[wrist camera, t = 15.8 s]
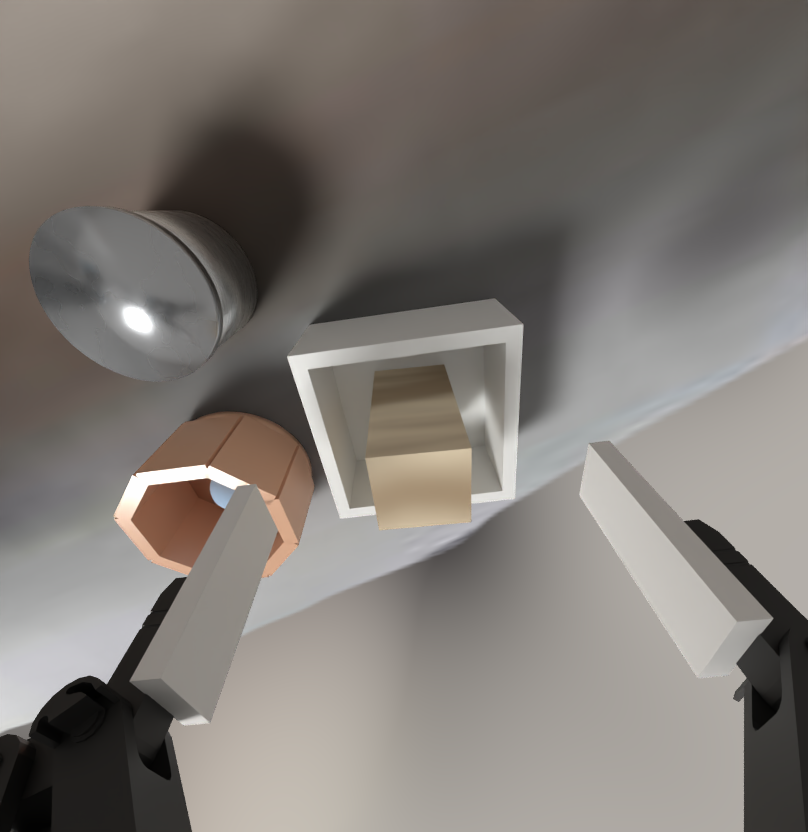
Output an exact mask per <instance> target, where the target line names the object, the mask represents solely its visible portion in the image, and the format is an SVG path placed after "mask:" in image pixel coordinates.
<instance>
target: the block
mask: <svg viewBox="0 0 808 832" xmlns="http://www.w3.org/2000/svg"><path fill="white" fill-rule="evenodd" d="M365 460H366V465H367V470H368V475H369V480H370V485H371V490H372V495H373V501H374V506H375V511H376V516H377V521H378V526H379V530H388V529H399V528H410V527H422V526H433V525H444V524H455V523H467V522H471V464H472V448H471V445H470V442H469V439H468V436H467V433H466V430H465V426H464V423H463V420H462V417H461V414H460V411H459V408H458V405H457V402H456V399H455V396H454V393H453V390H452V387H451V384H450V381H449V377H448V374H447V371H446V368H445V365H444V364H442V365H432V366H422V367H412V368H402V369H392V370H383V371H375V373H374V382H373V391H372V400H371V410H370V419H369V428H368V437H367V446H366V455H365Z"/></svg>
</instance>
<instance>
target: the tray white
mask: <svg viewBox="0 0 808 832" xmlns="http://www.w3.org/2000/svg"><path fill="white" fill-rule="evenodd" d="M522 344H523V323H522V322H521V321H519V320H518V319H517V318H516V317H515V316H514V315H513V314H512V313H511V312H509V311H508V310H507V309H506V308H505V307H504V306H503V305H502V304H501V303H499V302H498V301H497V300H496V299H495V298H494V299H487V300H480V301H473V302H466V303H459V304H452V305H445V306H438V307H431V308H424V309H417V310H410V311H403V312H396V313H388V314H381V315H374V316H367V317H360V318H353V319H346V320H339V321H332V322H325V323H318V324H311V325H309V326H308V328H307V329H306V330H305V332H304V333H303V335H302V336H301V337H300V339H299V340H298V342H297V343H296V345H295V346H294V347H293V349H292V350H291V352H290V353H289V354H288V356H287V358H288V361H289V364H290V367H291V370H292V373H293V376H294V379H295V383H296V386H297V389H298V392H299V395H300V398H301V401H302V404H303V407H304V410H305V413H306V416H307V419H308V422H309V425H310V428H311V431H312V434H313V437H314V440H315V443H316V446H317V449H318V452H319V455H320V458H321V461H322V464H323V468H324V471H325V474H326V477H327V480H328V483H329V486H330V489H331V492H332V495H333V498H334V501H335V504H336V507H337V510H338V513H339V516H340V519H342V518H351V517H360V516H368V515H376V511H375V506H374V501H373V495H372V490H371V485H370V480H369V475H368V470H367V465H366V460H365V455H366V446H367V437H368V428H369V419H370V410H371V400H372V391H373V382H374V373H375V371H383V370H392V369H402V368H412V367H422V366H432V365H442V364H444V365H445V368H446V371H447V374H448V377H449V381H450V384H451V387H452V390H453V393H454V396H455V399H456V402H457V405H458V408H459V411H460V414H461V417H462V420H463V423H464V426H465V430H466V433H467V436H468V439H469V442H470V445H471V448H472V464H471V504H473V503H482V502H490V501H499V500H508V499H515V485H516V465H517V444H518V424H519V404H520V384H521V364H522Z"/></svg>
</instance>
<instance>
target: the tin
mask: <svg viewBox="0 0 808 832" xmlns="http://www.w3.org/2000/svg"><path fill="white" fill-rule="evenodd" d="M29 266H30V275H31V279H32V284H33V287H34V290H35V292H36V295H37V297H38V299H39V301H40V304H41V306H42V307H43V309H44V311H45V312H46V314H47V316H48V317H49V319H50V320H51V321H52V323H53V324H54V325H55V327H56V328H57V329H58V330H59V331H60V332H61V334H62V335H63V336H64V337H65V338H66V339H67V340H68V341H69V342H70V343H71V344H72V345H73V346H75V347H76V348H77V349H78V350H80V351H81V352H82V353H83V354H84V355H86V356H87V357H89V358H90V359H92V360H93V361H95V362H97V363H98V364H100V365H102V366H104V367H105V368H107V369H110V370H112V371H114V372H116V373H119V374H122V375H124V376H127V377H131V378H135V379H139V380H145V381H158V382H160V381H171V380H176V379H179V378H182V377H185V376H187V375H189V374H191V373H193V372H195V371H196V370H197V369H198V368H200V367H201V366H202V365H203V364H205V363H206V362H207V361H208V360H209V359H210V358H211V357H212V355H213V354H214V352H215V351H216V349H217V348H218V347H219V346H220V345H222V344H223V343H224V342H225V341H227V340H228V339H229V338H230V337H232V336H233V335H234V334H235V333H236V332H238V331H239V330H240V329H241V328H243V327H244V326H245V325H246V324H247V323H248V321H249V320H250V318H251V317H252V315H253V313H254V310H255V307H256V303H257V283H256V278H255V274H254V271H253V268H252V266H251V263H250V261H249V259H248V257H247V255H246V254H245V252H244V251H243V249H242V248H241V246H240V245H239V244H238V243H237V242H236V240H235V239H234V238H233V237H232V236H231V235H230V234H229V233H228V232H227V231H225V230H224V229H223V228H222V227H220V226H219V225H217V224H216V223H214V222H213V221H211V220H209V219H207V218H205V217H203V216H201V215H198V214H195V213H192V212H187V211H179V210H156V211H128V210H124V209H120V208H115V207H104V206H85V207H74V208H70V209H66V210H63V211H61V212H59V213H57V214H54V215H53V216H51V217H50V218H49V219H47V220H46V221H45V222H44V223H43V224H42V225H41V227H40V228H39V229H38V231H37V232H36V234H35V236H34V238H33V241H32V244H31V248H30V256H29Z"/></svg>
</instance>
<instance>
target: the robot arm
mask: <svg viewBox="0 0 808 832" xmlns="http://www.w3.org/2000/svg"><path fill="white" fill-rule="evenodd" d="M579 496H580V497H581V499H582V500H583V502H584V503H585V505H586V506H587V508H588V510H589V511H590V513H591V514H592V516H593V517H594V519H595V520H596V522H597V523H598V525H599V527H600V528H601V530H602V531H603V533H604V534H605V536H606V537H607V539H608V541H609V542H610V544H611V545H612V547H613V548H614V550H615V551H616V553H617V554H618V556H619V557H620V559H621V561H622V562H623V564H624V565H625V567H626V568H627V570H628V571H629V573H630V574H631V576H632V578H633V579H634V581H635V582H636V584H637V585H638V587H639V588H640V590H641V592H642V593H643V594H644V596H645V598H646V599H647V601H648V602H649V604H650V605H651V607H652V608H653V610H654V612H655V613H656V615H657V616H658V618H659V619H660V621H661V622H662V624H663V625H664V627H665V629H666V630H667V632H668V633H669V635H670V636H671V638H672V639H673V641H674V643H675V644H676V646H677V647H678V649H679V650H680V652H681V653H682V655H683V656H684V658H685V660H686V661H687V663H688V664H689V666H690V667H691V669H692V670H693V672H694V673H695V675H696V676H697V678H707V677H718V676H728V675H729V674H730V672H731V671H732V670H733V669H734V667H735V666H736V665H738V667H739V668H740V669H741V670H742V672H743V673H744V675H745V676H746V677H747V679H746V680H745V681H744V682H743V683H742V684H741V686H740V687H739V688H738V689H737V690H736V691H735V694H734V698H733V699H734V700H736V701H738V702H739V701H740V700H741V699H742V698H743V697H744V832H808V620H807V619H806V618H805V617H804V616H803V615H802V614H801V613H800V612H799V611H798V610H797V609H796V608H795V607H794V606H793V605H792V604H791V603H790V602H789V601H788V600H787V599H786V598H785V597H784V596H783V595H782V594H781V593H780V592H779V591H778V590H776V588H775V587H773V585H772V584H770V582H769V581H768V580H766V578H764V576H763V575H762V574H761V573H759V571H757V569H756V568H754V566H752V565H750V564H749V563H748V561H747V559H746V558H745V557H744V556H743V555H741V554H740V553H739V552H738V551H736V550H735V548H734V547H733V546H732V545H731V544H730V543H729V542H728V541H727V540H726V539H725V538H724V537H723V536H722V535H721V534H720V533H719V532H718V531H716V530H715V529H713V528H712V527H710V526H708V525H707V524H705V523H704V522H702V521H700V520H690V521H683V520H682V519H681V518H680V517H679V516H678V515H677V514H676V512H675V511H674V510H673V509H672V508H671V507H670V506H669V505H668V504H667V503H666V502H665V501H664V499H662V497H661V496H660V495H659V494H658V493H657V492H656V491H655V490H654V489H653V488H652V487H651V486H650V484H649V483H648V482H647V481H646V480H645V479H644V478H643V477H642V476H641V475H640V474H639V473H638V471H636V469H635V468H634V467H633V466H632V465H631V464H630V463H629V462H628V461H627V459H626V458H625V457H624V456H623V455H622V454H621V453H620V452H619V451H618V450H617V449H616V448H615V447H614V445H613V444H612V443H611V442H610V441H603V442H595V443H589V445H588V451H587V456H586V462H585V467H584V472H583V478H582V483H581V489H580V495H579ZM277 532H278V529H277V527H276V525H275V523H274V521H273V519H272V516H271V514H270V512H269V510H268V508H267V506H266V504H265V502H264V500H263V498H262V496H261V493H260V491H259V489H258V487H257V485H256V484H251V485H242V486H237V488H236V489H235V491H234V493H233V495H232V497H231V498H230V500H229V502H228V504H227V506H226V508H225V509H224V511H223V513H222V515H221V517H220V518H219V520H218V522H217V524H216V526H215V527H214V529H213V531H212V533H211V535H210V536H209V538H208V540H207V542H206V544H205V545H204V547H203V549H202V551H201V553H200V555H199V556H198V558H197V560H196V562H195V564H194V565H193V567H192V569H191V571H190V573H189V574H188V576H187V577H183V578H176V579H175V580H174V581H173V582H172V583H171V584H170V585H169V586H168V587H167V588H166V589H165V590H164V591H163V592H162V593H161V595H160V596H159V598H158V600H157V601H156V603H155V605H154V606H153V608H152V610H151V614H150V615H148V616H147V618H146V620H145V622H144V623H143V625H142V629H140V630H139V632H138V633H137V635H136V637H135V638H134V640H133V642H132V643H131V645H130V647H129V648H128V650H127V652H126V653H125V655H124V657H123V658H122V660H121V662H120V663H119V665H118V667H117V668H116V670H115V672H114V673H113V675H112V677H111V679H110V680H109V682H108V684H107V685H106V684H105V683H104V682H102V681H101V680H100V679H98V678H96V677H93V676H87V677H82V678H79V679H77V680H75V681H73V682H71V683H69V684H68V685H66V686H65V687H64V688H62V689H61V690H60V691H59V692H57V693H56V694H55V695H54V696H53V697H52V698H51V699H50V700H49V701H48V702H47V703H46V704H45V706H44V707H43V708H42V709H41V710H40V712H39V714H38V715H37V717H36V718H35V720H34V722H33V723H32V726H31V730H30V733H29V737H31V738H30V739H28V740H25V739H23V738H21V737H19V736H17V735H10V734H7V735H4V736H1V737H0V832H192V830H191V825H190V820H189V816H188V811H187V807H186V802H185V797H184V792H183V788H182V784H181V779H180V774H179V769H178V765H177V760H176V755H175V751H174V746H173V741H172V737H171V736H170V734H169V732H168V729H169V727H170V724H171V722H172V720H173V717H174V718H175V719H176V720H178V721H179V722H180V723H181V724H182V725H193V724H204V723H210V722H211V719H212V716H213V713H214V710H215V708H216V705H217V702H218V699H219V696H220V694H221V691H222V688H223V685H224V682H225V679H226V677H227V674H228V671H229V668H230V665H231V662H232V659H233V657H234V654H235V651H236V648H237V645H238V643H239V640H240V637H241V634H242V631H243V628H244V626H245V623H246V620H247V617H248V614H249V611H250V608H251V606H252V603H253V600H254V597H255V594H256V591H257V589H258V586H259V583H260V580H261V577H262V574H263V572H264V569H265V566H266V563H267V560H268V557H269V555H270V552H271V549H272V546H273V543H274V540H275V537H276V535H277Z"/></svg>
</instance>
